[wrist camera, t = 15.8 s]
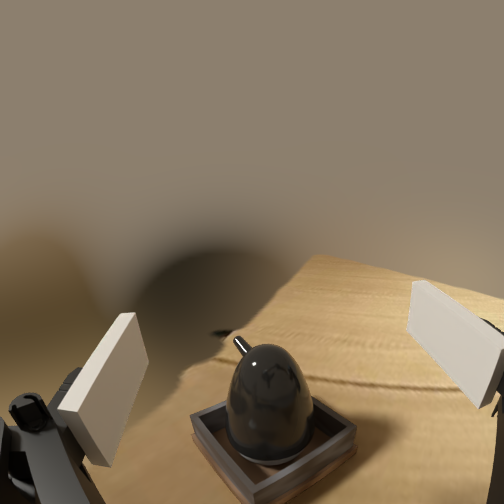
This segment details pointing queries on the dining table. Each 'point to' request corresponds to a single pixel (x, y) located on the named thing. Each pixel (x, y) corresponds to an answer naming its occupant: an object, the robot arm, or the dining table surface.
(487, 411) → the dining table surface
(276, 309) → the dining table surface
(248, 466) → the holder
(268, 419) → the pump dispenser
